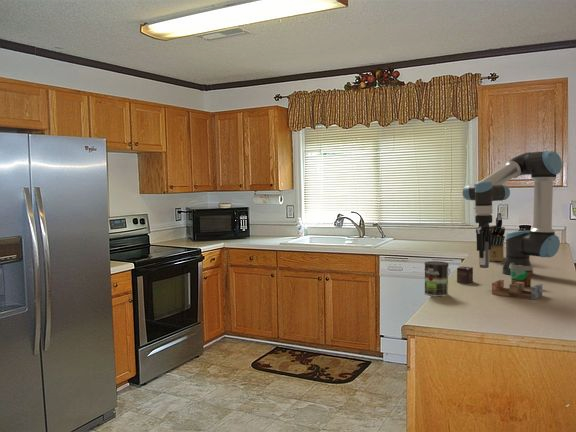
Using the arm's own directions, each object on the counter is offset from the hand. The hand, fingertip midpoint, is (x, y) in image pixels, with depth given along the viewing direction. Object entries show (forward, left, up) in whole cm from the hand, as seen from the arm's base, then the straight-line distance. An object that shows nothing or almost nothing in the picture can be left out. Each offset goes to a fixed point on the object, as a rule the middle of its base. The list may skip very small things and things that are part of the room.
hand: (484, 263), depth 246 cm
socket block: (+9, +18, -11) cm, 23 cm away
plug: (0, 0, -2) cm, 2 cm away
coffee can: (+29, -10, -11) cm, 32 cm away
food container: (-13, +11, -11) cm, 21 cm away
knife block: (-89, -30, -11) cm, 95 cm away
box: (-6, -12, -11) cm, 18 cm away
